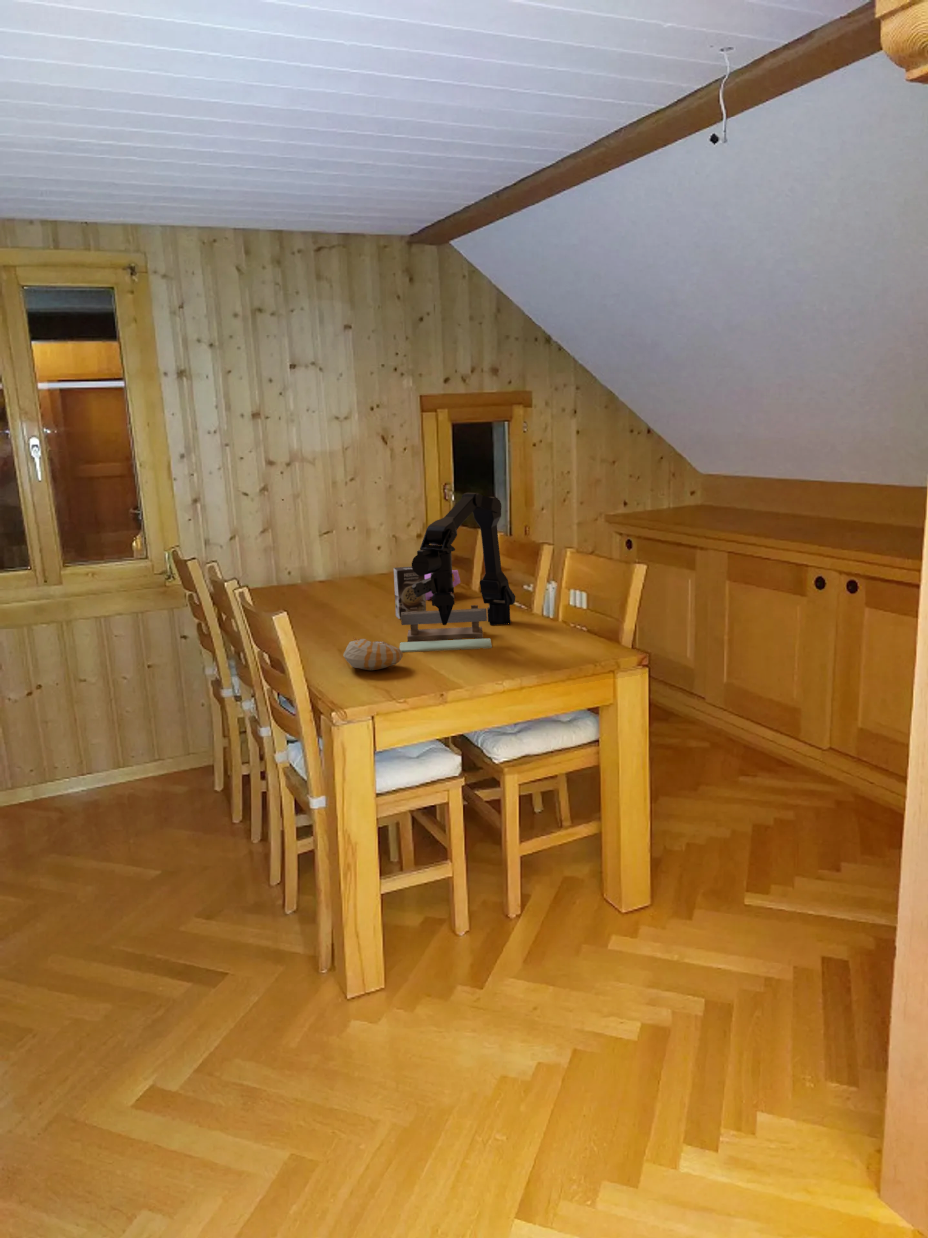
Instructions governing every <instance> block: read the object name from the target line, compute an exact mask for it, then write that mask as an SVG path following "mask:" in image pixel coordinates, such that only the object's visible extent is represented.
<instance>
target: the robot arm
mask: <svg viewBox="0 0 928 1238" xmlns="http://www.w3.org/2000/svg"><path fill="white" fill-rule="evenodd" d="M471 514H473V519H474V521H475V522H476V523H477V525H478V526H479V527H480V528H479V529H480V536H481V544H482V552H483V553H482V554H483V563H484V564H483V565H484V571H485V573H484V575H483V578H482V579H480V580H479V587H480V594H481V596H482V602H483V604H488V606H487V608H486V611H487V622H488V623H489V625H490V626H497V624H503V625H511V624H512V622H511V606H513V605H514V604H515V602H516V594H515V593H514V592H513V591H512V589H511V588H510V585H509V580H508V578H507V576H506V574H505V573H503V571H502V563H501V561H502V560H501V553H500V543H499V533H498V523H499V522H500V519H501V517H502V502H501V500H500V499H499V498H498V497H496V496H486V495H482V494H480V493H479V492H465V493H463V494H462V495H461V498H460V500H458V501H457V502H456V504H454V506H453V507H452V508H451V509H450V510H449V511H448V512H447V514H446V515H445V516H444V517H442V518H440V519H437V520H435V521H433V522H432V523H431V524H429V525H428V526H427V528H426V530H425V533H424V537H423V539H422V541H421V545H420V547H419V549H418V550H417V551H416V555H415V556H414V557H413V559H412V561H411V567H412V569H413V571H414V572H415V573H416V574H417V575H419V576H423V575H426V574H430V573H431V577H430V578H428V579H425V580H422V581H420V582H418V583H415V584H413V585H412V588H413V591H414V593H415V595H416V597H420V596H421V595H423V594H425V593H428V592H430V591H431V592H432V593H433V594H434V595H433V596H432V597H431V606H432V607H436V608H437V609H438V611H439V613H440V617H441V621H442V623H441V624H442V626H446V625H448V623H447V622H448V619H449V616H450V613H451V610H453V607H454V605H455V595H454V594H455V587H454V585H453V581H454V580H453V579H454V576H453V574H452V570H453V560H452V552H455V551H456V548H455V547H454V546H453V545H452V544H453V543H454V541H455V540H456V539H457V536H458V529H459V527H461V526H462V524H463V523H464V522H465V521H466V520H467V519H468V517H469V516H470V515H471ZM508 623H509V624H508ZM510 623H511V624H510Z"/></svg>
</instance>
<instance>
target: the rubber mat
mask: <svg viewBox="0 0 928 1238" xmlns="http://www.w3.org/2000/svg"><path fill="white" fill-rule="evenodd" d="M398 648H399V649H400V650H401V651H402V653H414V652H415V653H417V652H435V651H437V652H439V651H454V650H455V651H458V650H459V651H460V649H461V650H479V649H480V648H483V649H492V648H493V646H492V640H491V638H475V639H453V640H431V641H409V642H408V641H404V642H400V643H399V647H398Z"/></svg>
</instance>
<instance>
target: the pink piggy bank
mask: <svg viewBox="0 0 928 1238" xmlns="http://www.w3.org/2000/svg"><path fill="white" fill-rule="evenodd" d="M452 575H453V579H454V580H453V585H454V588H455V587H457V586H458V585H459V584H460V583H461V578H460V575H459V570H458V569H454V570H453V569H452ZM430 577H431V573H430V574H426V575H425V579H428V578H430ZM433 595H434V594H433V593H432V592H431V591H430V592H428V593H425V596H426V601H429V600H432V596H433Z"/></svg>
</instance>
